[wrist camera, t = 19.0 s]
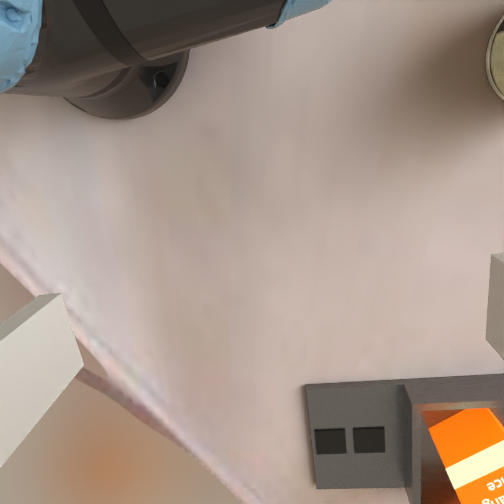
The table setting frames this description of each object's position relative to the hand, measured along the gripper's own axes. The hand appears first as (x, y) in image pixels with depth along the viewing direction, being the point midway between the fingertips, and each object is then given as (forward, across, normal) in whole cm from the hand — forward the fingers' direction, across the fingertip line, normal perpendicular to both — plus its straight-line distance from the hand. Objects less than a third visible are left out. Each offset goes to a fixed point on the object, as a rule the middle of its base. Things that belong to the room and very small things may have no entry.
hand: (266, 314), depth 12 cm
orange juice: (+31, +20, -36) cm, 52 cm away
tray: (+32, +14, -36) cm, 50 cm away
